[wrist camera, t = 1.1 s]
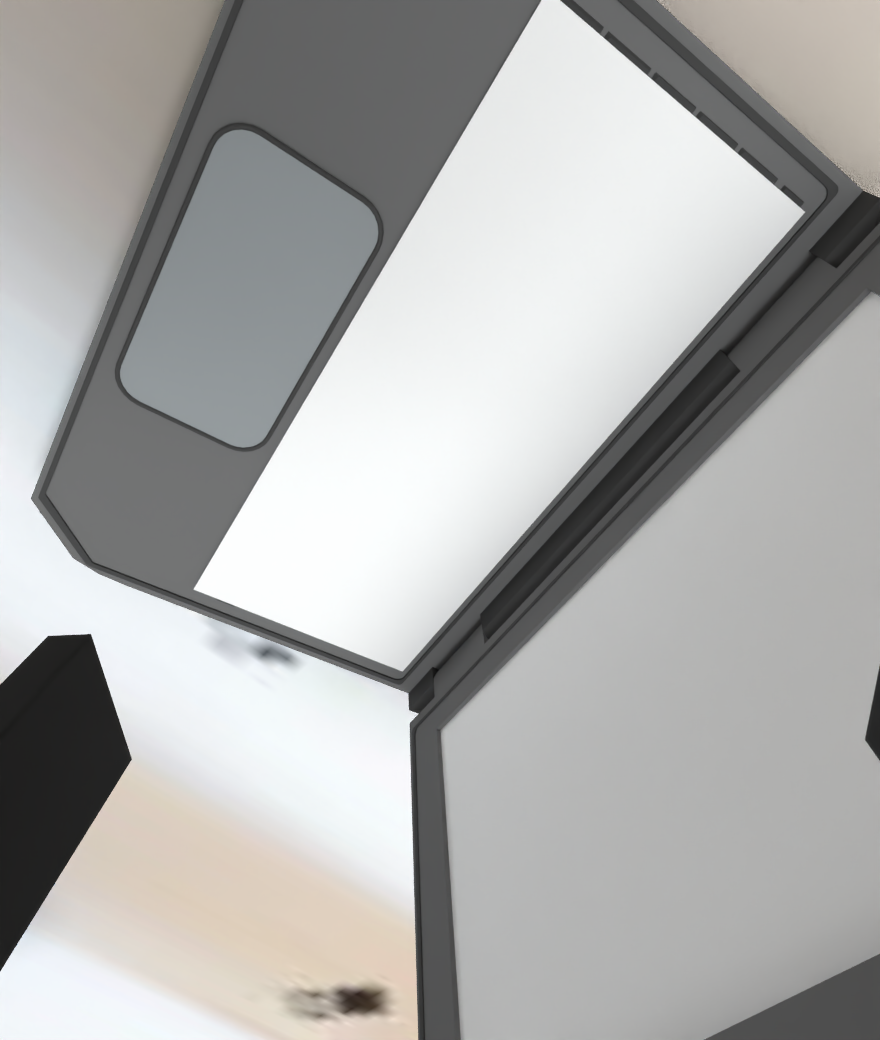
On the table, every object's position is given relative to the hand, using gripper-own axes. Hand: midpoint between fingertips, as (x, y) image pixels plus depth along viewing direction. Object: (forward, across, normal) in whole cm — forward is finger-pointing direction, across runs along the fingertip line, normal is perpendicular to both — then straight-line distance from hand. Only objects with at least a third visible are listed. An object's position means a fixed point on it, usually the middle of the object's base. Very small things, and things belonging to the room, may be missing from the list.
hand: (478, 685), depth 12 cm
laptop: (+29, -3, -2) cm, 29 cm away
